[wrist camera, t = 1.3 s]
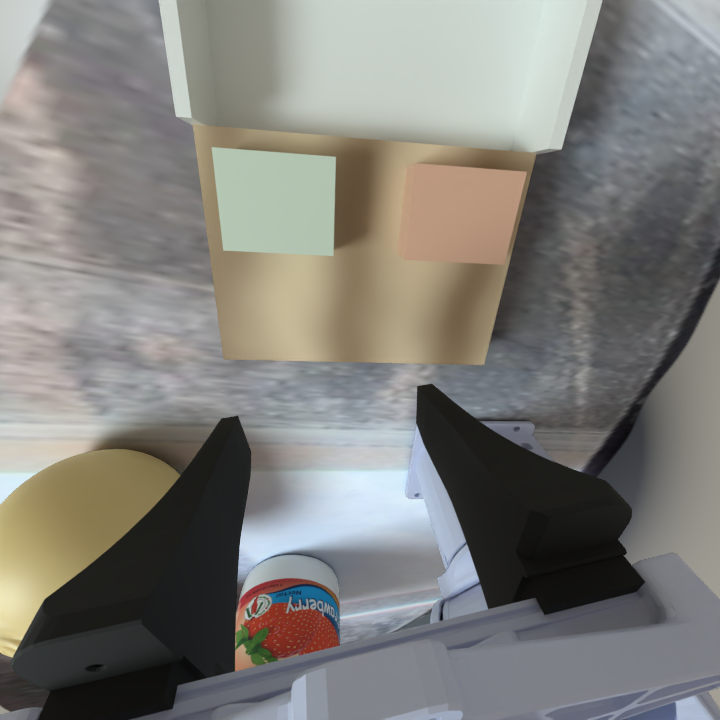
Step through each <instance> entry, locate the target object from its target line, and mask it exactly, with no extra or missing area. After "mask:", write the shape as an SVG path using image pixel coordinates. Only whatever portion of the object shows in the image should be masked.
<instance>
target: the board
mask: <svg viewBox="0 0 720 720" xmlns="http://www.w3.org/2000/svg"><path fill="white" fill-rule="evenodd" d="M193 129H194V137H195V145H196V152H197V160H198V168H199V175H200V183H201V190H202V198H203V206H204V213H205V221H206V229H207V236H208V244H209V251H210V259H211V267H212V274H213V282H214V290H215V297H216V305H217V313H218V320H219V328H220V335H221V343H222V351H223V358H224V359H233V360H279V361H326V362H372V363H418V364H464V365H484V363H485V359H486V355H487V351H488V347H489V343H490V339H491V334H492V330H493V326H494V322H495V318H496V314H497V310H498V306H499V302H500V298H501V294H502V290H503V286H504V282H505V278H506V274H507V270H508V266H509V262H510V258H511V254H512V250H513V246H514V242H515V238H516V234H517V230H518V226H519V222H520V218H521V214H522V210H523V206H524V202H525V198H526V194H527V190H528V186H529V182H530V178H531V174H532V170H533V166H534V162H535V158H536V154H537V153H528V152H516V151H504V150H493V149H481V148H469V147H457V146H445V145H433V144H421V143H409V142H397V141H386V140H374V139H362V138H350V137H338V136H326V135H314V134H302V133H291V132H279V131H267V130H255V129H243V128H231V127H219V126H207V125H196V124H193ZM212 147H217V148H229V149H242V150H255V151H268V152H280V153H293V154H306V155H319V156H331V157H336V173H335V213H334V254H333V256H321V255H301V254H282V253H262V252H242V251H223V243H222V234H221V226H220V217H219V208H218V199H217V190H216V182H215V173H214V164H213V155H212ZM415 163H421V164H433V165H446V166H459V167H472V168H484V169H497V170H510V171H523V172H527V174H526V178H525V182H524V186H523V191H522V195H521V199H520V203H519V207H518V211H517V215H516V219H515V223H514V228H513V232H512V236H511V240H510V244H509V248H508V252H507V256H506V261H505V265H498V264H478V263H459V262H439V261H419V260H404V259H403V258H402V257H401V256H400V255H399V254H397V252H398V243H399V233H400V224H401V214H402V205H403V195H404V186H405V176H406V167H408V166H410V165H413V164H415Z"/></svg>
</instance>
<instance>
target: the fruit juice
mask: <svg viewBox="0 0 720 720" xmlns="http://www.w3.org/2000/svg"><path fill="white" fill-rule="evenodd" d="M336 646H340V615H339V587H338V581H337V577H336V575H335V573H334V571H333V570H332V569H331V568H330V567H329V566H328V565H327V564H326V563H324V562H322V561H320V560H318V559H316V558H313V557H309V556H303V555H283V556H277V557H274V558H270V559H268V560H265V561H263V562H261V563H260V564H258V565H257V566H255V567H254V568H253V569H252V570H251V571H250V573H249V574H248V576H247V578H246V580H245V582H244V585H243V588H242V591H241V595H240V599H239V604H238V608H237V612H236V630H235V671H238V670H243V669H247V668H251V667H255V666H259V665H263V664H267V663H271V662H275V661H279V660H283V659H287V658H291V657H296V656H300V655H304V654H308V653H312V652H316V651H320V650H324V649H328V648H332V647H336Z"/></svg>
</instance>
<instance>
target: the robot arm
mask: <svg viewBox="0 0 720 720" xmlns="http://www.w3.org/2000/svg"><path fill="white" fill-rule="evenodd" d="M416 424H417V425H416V429H415V436H414V442H413V448H412V454H411V460H410V466H409V472H408V478H407V484H406V490H405V494H406V497H407V498H409V499H424V501H425V504H426V508H427V511H428V514H429V518H430V521H431V524H432V527H433V531H434V534H435V537H436V541H437V544H438V547H439V551H440V554H441V557H442V560H443V564H444V567H445V570H446V572H445V573H444V574H443V575H441V576H440V577H438V578H437V580H438V584H439V587H440V591H441V594H442V599H440V600H438V601H437V602H436V603H435V604H434V606H433V608H432V612H431V623H430V624H426V625H422V626H418V627H414V628H410V629H406V630H402V631H397V632H393V633H389V634H385V635H381V636H377V637H373V638H369V639H365V640H361V641H357V642H353V643H349V644H344V645H340V646H336V647H332V648H328V649H324V650H320V651H316V652H312V653H308V654H304V655H300V656H296V657H291V658H287V659H283V660H279V661H275V662H271V663H267V664H263V665H259V666H255V667H251V668H247V669H243V670H238V671H235V630H236V597H237V576H238V560H239V545H240V537H241V530H242V524H243V518H244V512H245V506H246V500H247V494H248V488H249V482H250V472H251V450H250V448H249V445H248V442H247V439H246V437H245V434H244V431H243V428H242V426H241V423H240V420H239V418H238V416H234V417H228V418H222V419H221V420H220V422H219V423H218V424H217V426H216V427H215V429H214V430H213V432H212V433H211V435H210V436H209V438H208V439H207V440H206V442H205V443H204V445H203V446H202V448H201V449H200V450H199V452H198V453H197V455H196V456H195V457H194V459H193V460H192V461H191V463H190V464H189V465H188V467H187V468H186V469H185V471H184V472H183V473H182V474H181V476H180V477H179V478H178V479H177V481H176V482H175V483H174V484H173V486H172V487H171V488H170V489H169V490H168V491H167V493H166V494H165V495H164V496H163V497H162V498H161V499H160V500H159V501H158V502H157V503H156V505H155V506H154V507H153V508H152V509H151V510H150V511H149V512H148V513H147V514H146V515H145V516H144V517H143V518H142V519H141V520H140V521H139V522H137V523H136V524H135V525H134V526H133V527H132V528H131V529H130V530H129V531H128V532H127V533H126V534H125V535H124V536H123V537H122V538H121V539H119V540H118V541H117V542H116V543H115V544H114V545H113V546H111V547H110V548H109V549H108V550H107V551H106V552H104V553H103V554H102V555H101V556H100V557H98V558H97V559H96V560H95V561H94V562H92V563H91V564H90V565H89V566H87V567H86V568H85V569H84V570H82V571H81V572H80V573H78V574H77V575H76V576H75V577H73V578H72V579H71V580H69V581H68V582H67V583H65V584H64V585H63V586H61V587H60V588H59V589H57V590H56V591H55V592H54V593H52V594H51V595H49V596H48V597H47V598H45V600H44V601H43V603H42V604H41V606H40V608H39V610H38V611H37V613H36V615H35V617H34V619H33V620H32V622H31V624H30V626H29V628H28V630H27V632H26V633H25V635H24V637H23V639H22V641H21V643H20V644H19V646H18V648H17V650H16V652H15V654H14V655H13V658H12V660H11V665H12V667H13V670H14V672H15V673H16V674H18V675H19V676H21V677H22V678H24V679H26V680H28V681H30V682H32V683H34V684H37V685H39V686H41V687H43V688H45V689H47V690H49V691H51V692H50V694H49V696H48V698H47V701H46V703H45V705H44V707H43V708H26V709H21V710H17V711H13V712H9V713H5V714H1V715H0V720H720V708H719V706H718V705H717V703H716V702H715V701H714V699H713V698H712V696H711V695H710V694H709V691H712V690H715V689H718V688H720V599H719V598H718V597H717V596H716V595H715V594H714V593H713V592H712V591H711V590H710V589H709V588H708V586H707V585H706V584H704V582H703V581H702V580H701V579H700V578H699V577H698V576H697V575H696V574H695V573H694V572H693V571H692V570H691V569H690V568H689V566H688V565H687V564H685V562H684V561H683V560H682V559H681V558H680V557H679V556H678V555H677V554H675V553H669V554H665V555H660V556H656V557H652V558H648V559H644V560H641V561H638V562H637V563H635V564H633V565H632V566H631V564H630V563H629V562H628V561H627V559H626V558H625V557H624V556H623V555H625V554H626V553H627V552H626V549H625V548H624V547H623V545H622V544H621V543H620V542H619V541H618V538H619V537H620V535H621V534H622V533H623V531H624V530H625V528H626V526H627V525H628V524H629V522H630V519H631V516H632V509H631V507H630V506H629V505H628V504H627V502H625V500H624V499H623V498H622V497H621V496H620V495H619V494H618V493H617V492H616V491H615V490H614V489H613V488H612V486H611V485H609V484H608V483H607V482H606V481H605V480H602V479H599V478H596V477H593V476H590V475H588V474H585V473H582V472H579V471H576V470H573V469H570V468H568V467H565V466H563V465H561V464H558V463H556V462H555V461H554V460H553V459H552V458H551V457H550V456H549V454H548V453H547V452H546V451H545V450H544V448H543V447H542V446H541V445H540V444H539V442H538V441H537V440H536V439H535V438H534V437H533V432H534V429H535V426H534V425H533V423H531V422H529V421H478V420H477V419H475V418H474V417H473V416H471V415H470V414H469V413H467V412H466V411H465V410H463V409H462V408H461V407H460V406H458V405H457V404H456V403H454V402H453V401H452V400H451V399H450V398H448V397H447V396H446V395H445V394H444V393H442V392H441V391H440V390H439V389H438V388H436V387H435V386H434V385H433V384H428V385H422V386H417V416H416ZM515 427H517V428H515ZM514 428H515V429H514ZM416 493H417V494H416Z"/></svg>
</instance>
